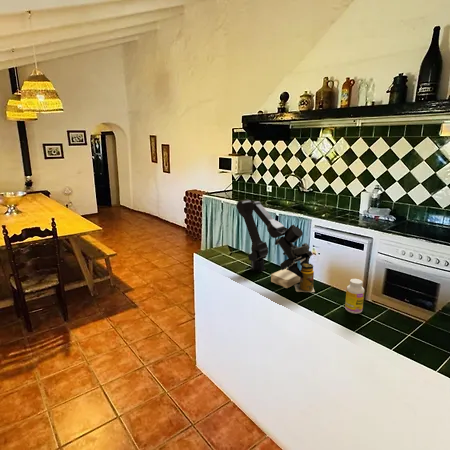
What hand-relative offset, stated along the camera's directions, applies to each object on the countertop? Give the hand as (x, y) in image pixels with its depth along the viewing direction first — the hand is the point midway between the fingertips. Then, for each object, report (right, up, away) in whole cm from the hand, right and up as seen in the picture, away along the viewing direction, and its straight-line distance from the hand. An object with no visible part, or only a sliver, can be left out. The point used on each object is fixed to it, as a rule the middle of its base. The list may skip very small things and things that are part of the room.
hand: (306, 275), depth 148 cm
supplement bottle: (+15, -11, -18) cm, 26 cm away
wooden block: (-7, -4, +10) cm, 13 cm away
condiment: (-1, -7, +2) cm, 7 cm away
